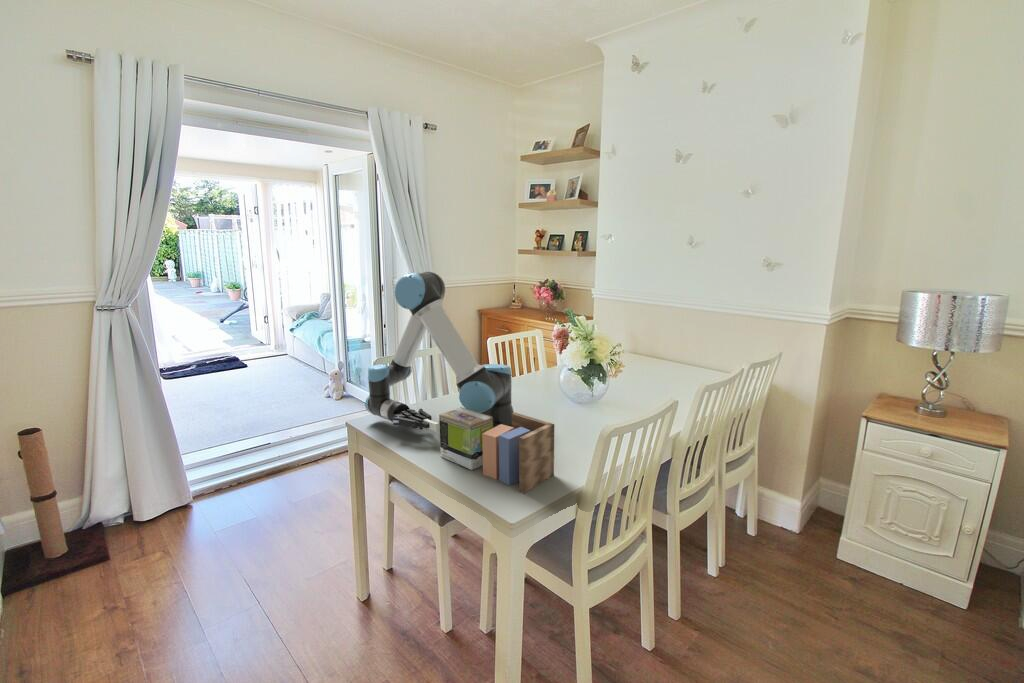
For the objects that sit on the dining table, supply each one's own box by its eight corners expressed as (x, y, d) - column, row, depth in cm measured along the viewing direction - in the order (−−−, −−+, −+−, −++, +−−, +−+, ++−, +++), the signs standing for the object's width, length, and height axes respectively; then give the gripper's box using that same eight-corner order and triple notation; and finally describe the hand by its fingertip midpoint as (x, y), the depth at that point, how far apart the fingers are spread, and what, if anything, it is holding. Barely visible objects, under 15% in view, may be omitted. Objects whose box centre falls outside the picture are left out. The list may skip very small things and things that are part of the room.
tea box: (494, 460, 151) (493, 416, 148) (471, 471, 143) (470, 425, 140) (462, 447, 160) (461, 405, 158) (439, 457, 153) (437, 413, 150)
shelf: (515, 460, 150) (515, 412, 147) (553, 475, 141) (554, 424, 137) (484, 476, 140) (483, 425, 137) (523, 493, 130) (523, 439, 127)
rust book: (501, 463, 149) (500, 424, 146) (514, 467, 146) (514, 427, 143) (483, 474, 141) (482, 433, 139) (496, 479, 139) (495, 437, 136)
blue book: (520, 470, 144) (520, 426, 141) (530, 474, 141) (530, 430, 138) (499, 480, 138) (498, 435, 135) (509, 485, 135) (508, 439, 132)
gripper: (410, 416, 180) (452, 432, 165) (381, 426, 170) (422, 444, 155) (409, 397, 178) (451, 411, 163) (379, 406, 169) (421, 422, 154)
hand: (437, 427), depth 159 cm, fingers closed
